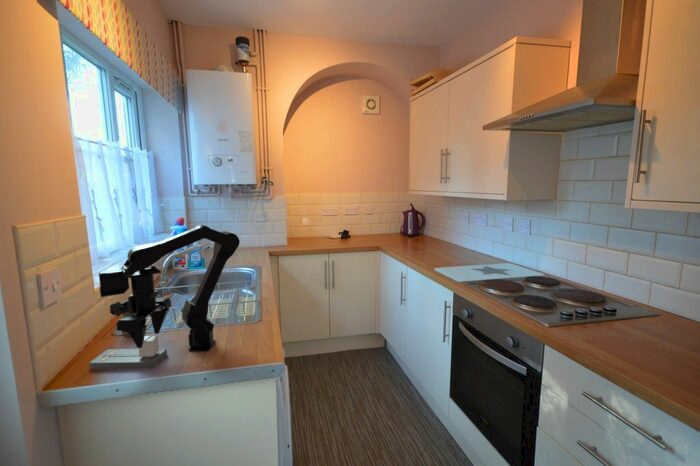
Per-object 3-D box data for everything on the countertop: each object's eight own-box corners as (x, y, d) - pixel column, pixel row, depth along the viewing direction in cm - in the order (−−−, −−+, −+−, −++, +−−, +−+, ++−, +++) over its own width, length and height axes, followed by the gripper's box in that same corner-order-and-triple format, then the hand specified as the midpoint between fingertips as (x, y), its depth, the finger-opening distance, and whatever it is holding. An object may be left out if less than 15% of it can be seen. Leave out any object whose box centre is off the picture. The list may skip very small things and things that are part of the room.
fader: (159, 350, 106) (157, 335, 105) (153, 356, 102) (151, 340, 101) (146, 350, 106) (144, 335, 105) (139, 356, 102) (137, 340, 101)
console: (167, 354, 108) (166, 348, 108) (153, 368, 100) (152, 361, 100) (108, 355, 108) (107, 349, 108) (90, 369, 100) (89, 362, 100)
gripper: (134, 281, 110) (139, 327, 112) (92, 301, 92) (99, 356, 94) (170, 280, 110) (174, 327, 113) (135, 300, 92) (141, 355, 94)
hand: (148, 340), depth 103 cm, fingers open, 9 cm apart
